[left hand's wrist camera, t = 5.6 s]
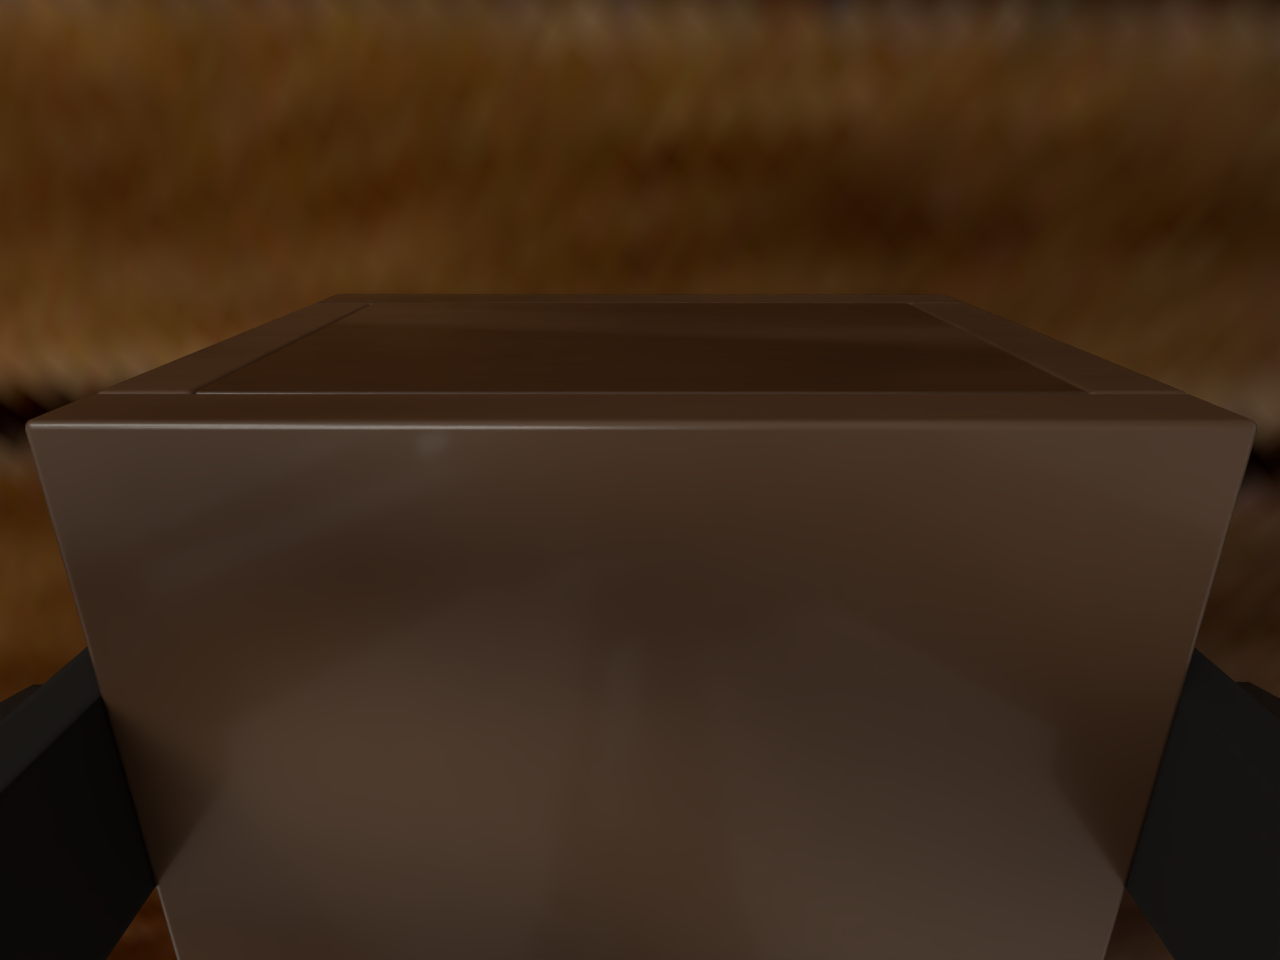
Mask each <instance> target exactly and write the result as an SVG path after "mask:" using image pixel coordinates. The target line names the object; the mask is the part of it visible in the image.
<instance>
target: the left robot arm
mask: <svg viewBox="0 0 1280 960" xmlns="http://www.w3.org/2000/svg"><path fill="white" fill-rule="evenodd" d="M155 886H156V884H155V880H154V877H153V873H152V870H151V866H150V863H149V859H148V856H147V852H146V849H145V845H144V842H143V838H142V835H141V831H140V828H139V824H138V821H137V817H136V814H135V810H134V807H133V803H132V800H131V797H130V793H129V790H128V786H127V783H126V779H125V776H124V772H123V769H122V765H121V762H120V758H119V755H118V751H117V748H116V744H115V741H114V737H113V734H112V730H111V727H110V723H109V720H108V716H107V713H106V709H105V706H104V702H103V699H102V695H101V692H100V688H99V685H98V682H97V678H96V675H95V671H94V668H93V664H92V661H91V657H90V654H89V650H88V647H86V648H85V649H84V650H83V651H82V652H81V653H79V654H78V655H77V656H76V657H75V658H74V659H72V660H71V661H70V662H69V663H68V664H67V665H65V666H64V667H63V668H62V669H61V670H60V671H58V672H57V673H56V674H55V675H54V676H53V677H51V678H50V679H49V680H48V681H47V682H46V683H44V684H43V685H32V686H30V687H28V688H26V689H24V690H22V691H21V692H19V693H17V694H15V695H13V696H11V697H9V698H8V699H6V700H4V701H2V702H0V960H106V959H107V957H108V956H109V954H110V953H111V951H112V950H113V948H114V947H115V945H116V944H117V942H118V941H119V940H120V938H121V937H122V935H123V934H124V932H125V931H126V929H127V928H128V926H129V925H130V923H131V922H132V920H133V919H134V917H135V916H136V914H137V913H138V911H139V910H140V909H141V907H142V906H143V904H144V903H145V901H146V900H147V898H148V897H149V895H150V894H151V892H152V891H153V889H154V888H155ZM1125 887H1126V888H1127V890H1128V891H1129V892H1130V894H1131V895H1132V897H1133V898H1134V900H1135V901H1136V903H1137V904H1138V906H1139V907H1140V909H1141V910H1142V912H1143V913H1144V915H1145V916H1146V918H1147V919H1148V920H1149V922H1150V923H1151V925H1152V926H1153V928H1154V929H1155V931H1156V932H1157V934H1158V935H1159V937H1160V938H1161V940H1162V941H1163V943H1164V944H1165V946H1166V947H1167V948H1168V950H1169V951H1170V953H1171V954H1172V956H1173V957H1174V959H1175V960H1280V699H1279V698H1278V697H1276V696H1274V695H1272V694H1270V693H1268V692H1266V691H1264V690H1263V689H1261V688H1259V687H1257V686H1255V685H1253V684H1251V683H1249V682H1234V681H1233V680H1232V679H1231V678H1230V677H1228V676H1227V675H1226V674H1225V673H1224V672H1223V671H1221V670H1220V669H1219V668H1218V667H1217V666H1216V665H1214V664H1213V663H1212V662H1211V661H1210V660H1209V659H1207V658H1206V657H1205V656H1204V655H1203V654H1202V653H1200V652H1199V651H1198V650H1197V649H1196V648H1195V647H1194V651H1193V654H1192V658H1191V661H1190V664H1189V668H1188V671H1187V675H1186V678H1185V682H1184V685H1183V689H1182V692H1181V696H1180V699H1179V703H1178V706H1177V710H1176V713H1175V717H1174V720H1173V723H1172V727H1171V730H1170V734H1169V737H1168V741H1167V744H1166V748H1165V751H1164V755H1163V758H1162V762H1161V765H1160V769H1159V772H1158V775H1157V779H1156V782H1155V786H1154V789H1153V793H1152V796H1151V800H1150V803H1149V807H1148V810H1147V814H1146V817H1145V821H1144V824H1143V827H1142V831H1141V834H1140V838H1139V841H1138V845H1137V848H1136V852H1135V855H1134V859H1133V862H1132V866H1131V869H1130V873H1129V876H1128V880H1127V883H1126V886H1125Z"/></svg>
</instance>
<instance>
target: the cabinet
mask: <svg viewBox="0 0 1280 960" xmlns="http://www.w3.org/2000/svg"><path fill="white" fill-rule="evenodd" d="M25 431H26V434H27V438H28V441H29V445H30V448H31V452H32V455H33V459H34V462H35V465H36V469H37V472H38V476H39V479H40V483H41V486H42V490H43V493H44V497H45V500H46V504H47V507H48V511H49V514H50V518H51V521H52V525H53V528H54V532H55V535H56V539H57V542H58V546H59V549H60V553H61V556H62V560H63V563H64V567H65V570H66V574H67V577H68V580H69V584H70V587H71V591H72V594H73V598H74V601H75V605H76V608H77V612H78V615H79V619H80V622H81V626H82V629H83V633H84V636H85V640H86V643H87V647H88V650H89V654H90V657H91V661H92V664H93V668H94V671H95V675H96V678H97V682H98V685H99V688H100V692H101V695H102V699H103V702H104V706H105V709H106V713H107V716H108V720H109V723H110V727H111V730H112V734H113V737H114V741H115V744H116V748H117V751H118V755H119V758H120V762H121V765H122V769H123V772H124V776H125V779H126V783H127V786H128V790H129V793H130V797H131V800H132V803H133V807H134V810H135V814H136V817H137V821H138V824H139V828H140V831H141V835H142V838H143V842H144V845H145V849H146V852H147V856H148V859H149V863H150V866H151V870H152V873H153V877H154V880H155V884H156V887H157V891H158V894H159V898H160V901H161V905H162V908H163V912H164V915H165V918H166V922H167V925H168V929H169V932H170V936H171V939H172V943H173V946H174V950H175V953H176V957H177V960H1104V959H1105V956H1106V952H1107V949H1108V945H1109V942H1110V938H1111V935H1112V932H1113V928H1114V925H1115V921H1116V918H1117V914H1118V911H1119V907H1120V904H1121V900H1122V897H1123V893H1124V890H1125V886H1126V883H1127V880H1128V876H1129V873H1130V869H1131V866H1132V862H1133V859H1134V855H1135V852H1136V848H1137V845H1138V841H1139V838H1140V834H1141V831H1142V827H1143V824H1144V821H1145V817H1146V814H1147V810H1148V807H1149V803H1150V800H1151V796H1152V793H1153V789H1154V786H1155V782H1156V779H1157V775H1158V772H1159V769H1160V765H1161V762H1162V758H1163V755H1164V751H1165V748H1166V744H1167V741H1168V737H1169V734H1170V730H1171V727H1172V723H1173V720H1174V717H1175V713H1176V710H1177V706H1178V703H1179V699H1180V696H1181V692H1182V689H1183V685H1184V682H1185V678H1186V675H1187V671H1188V668H1189V664H1190V661H1191V658H1192V654H1193V651H1194V647H1195V644H1196V640H1197V637H1198V633H1199V630H1200V626H1201V623H1202V619H1203V616H1204V612H1205V609H1206V606H1207V602H1208V599H1209V595H1210V592H1211V588H1212V585H1213V581H1214V578H1215V574H1216V571H1217V567H1218V564H1219V560H1220V557H1221V554H1222V550H1223V547H1224V543H1225V540H1226V536H1227V533H1228V529H1229V526H1230V522H1231V519H1232V515H1233V512H1234V508H1235V505H1236V501H1237V498H1238V495H1239V491H1240V488H1241V484H1242V481H1243V477H1244V474H1245V470H1246V467H1247V463H1248V460H1249V456H1250V453H1251V449H1252V446H1253V443H1254V439H1255V436H1256V432H1257V426H1256V423H1255V422H1254V421H1252V420H1250V419H1248V418H1245V417H1243V416H1240V415H1238V414H1235V413H1233V412H1231V411H1228V410H1226V409H1223V408H1221V407H1218V406H1216V405H1213V404H1211V403H1209V402H1206V401H1204V400H1201V399H1199V398H1196V397H1194V396H1191V395H1189V394H1185V393H1184V392H1183V391H1181V390H1178V389H1176V388H1173V387H1171V386H1169V385H1166V384H1164V383H1161V382H1159V381H1156V380H1154V379H1151V378H1149V377H1146V376H1144V375H1142V374H1139V373H1137V372H1134V371H1132V370H1129V369H1127V368H1124V367H1122V366H1119V365H1117V364H1114V363H1112V362H1110V361H1107V360H1105V359H1102V358H1100V357H1097V356H1095V355H1092V354H1090V353H1087V352H1085V351H1083V350H1080V349H1078V348H1075V347H1073V346H1070V345H1068V344H1065V343H1063V342H1060V341H1058V340H1056V339H1053V338H1051V337H1048V336H1046V335H1043V334H1041V333H1038V332H1036V331H1033V330H1031V329H1028V328H1026V327H1024V326H1021V325H1019V324H1016V323H1014V322H1011V321H1009V320H1006V319H1004V318H1001V317H999V316H997V315H994V314H992V313H989V312H987V311H984V310H982V309H979V308H977V307H974V306H972V305H970V304H967V303H964V302H962V301H959V300H957V299H954V298H952V297H949V296H947V295H536V294H337V295H335V296H332V297H330V298H327V299H325V300H322V301H320V302H318V303H315V304H312V305H310V306H308V307H305V308H303V309H300V310H298V311H295V312H293V313H290V314H288V315H285V316H283V317H281V318H278V319H276V320H273V321H271V322H268V323H266V324H263V325H261V326H258V327H256V328H254V329H251V330H249V331H246V332H244V333H241V334H239V335H236V336H234V337H231V338H229V339H227V340H224V341H222V342H219V343H217V344H214V345H212V346H209V347H207V348H204V349H202V350H199V351H197V352H195V353H192V354H190V355H187V356H185V357H182V358H180V359H177V360H175V361H172V362H170V363H168V364H165V365H163V366H160V367H158V368H155V369H153V370H150V371H148V372H145V373H143V374H141V375H138V376H136V377H133V378H131V379H128V380H126V381H123V382H121V383H118V384H116V385H114V386H111V387H109V388H106V389H104V390H102V391H99V392H98V394H92V395H90V396H87V397H85V398H82V399H80V400H77V401H75V402H73V403H70V404H68V405H65V406H63V407H60V408H58V409H55V410H53V411H50V412H48V413H46V414H43V415H41V416H38V417H36V418H33V419H31V420H29V421H28V422H27V423H26V428H25Z"/></svg>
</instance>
